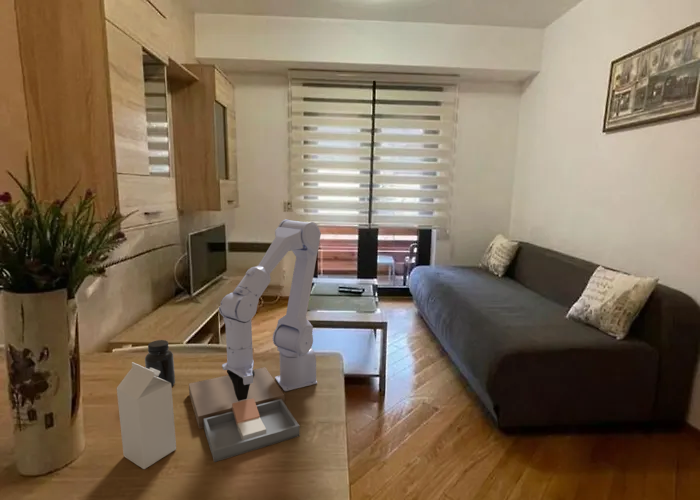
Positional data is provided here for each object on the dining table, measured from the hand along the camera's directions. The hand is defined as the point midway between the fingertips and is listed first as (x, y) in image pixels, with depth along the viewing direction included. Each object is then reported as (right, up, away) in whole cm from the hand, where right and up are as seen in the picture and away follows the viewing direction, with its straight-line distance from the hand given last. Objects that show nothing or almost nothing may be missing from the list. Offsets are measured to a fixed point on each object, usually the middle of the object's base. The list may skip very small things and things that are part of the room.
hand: (241, 398), depth 98 cm
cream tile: (+4, -3, -8) cm, 9 cm away
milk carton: (-15, -7, -13) cm, 21 cm away
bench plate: (-3, -3, +6) cm, 7 cm away
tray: (+4, -5, -7) cm, 9 cm away
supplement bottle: (-25, -1, +13) cm, 28 cm away
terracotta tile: (+2, -2, -3) cm, 4 cm away
